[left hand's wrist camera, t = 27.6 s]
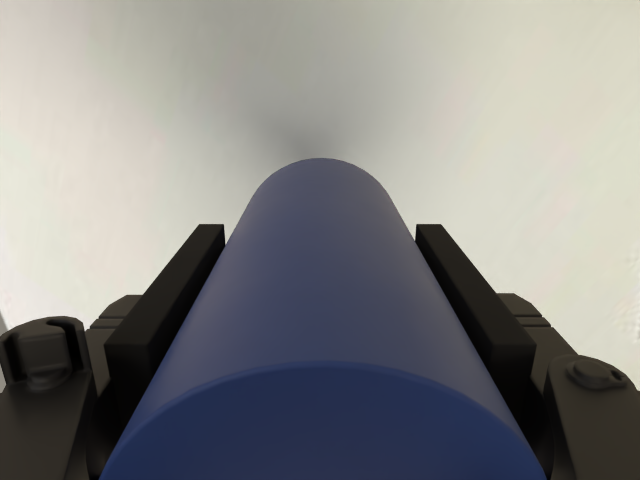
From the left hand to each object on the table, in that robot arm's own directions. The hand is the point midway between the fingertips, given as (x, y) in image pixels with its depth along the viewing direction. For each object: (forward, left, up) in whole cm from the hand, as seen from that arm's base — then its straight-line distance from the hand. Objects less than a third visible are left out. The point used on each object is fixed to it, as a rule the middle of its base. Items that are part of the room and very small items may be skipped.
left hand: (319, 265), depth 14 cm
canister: (0, 0, -3) cm, 3 cm away
